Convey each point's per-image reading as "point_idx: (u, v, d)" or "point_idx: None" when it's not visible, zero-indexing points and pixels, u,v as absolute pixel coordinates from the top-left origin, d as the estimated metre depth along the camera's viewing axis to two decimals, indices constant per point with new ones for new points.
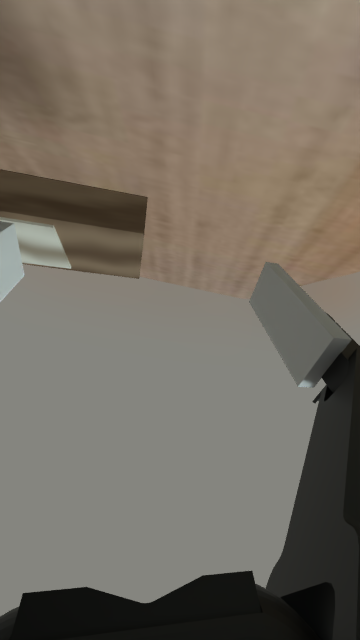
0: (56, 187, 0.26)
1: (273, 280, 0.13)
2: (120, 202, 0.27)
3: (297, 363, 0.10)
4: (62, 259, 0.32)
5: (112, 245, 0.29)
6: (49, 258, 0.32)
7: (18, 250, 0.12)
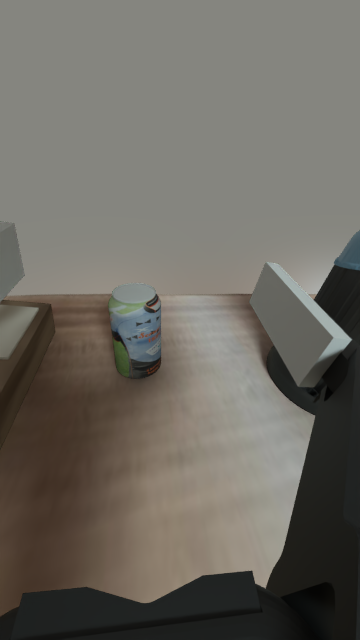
0: (26, 383, 0.28)
1: (273, 280, 0.13)
2: None
3: (297, 363, 0.10)
4: None
5: None
6: None
7: (18, 250, 0.12)
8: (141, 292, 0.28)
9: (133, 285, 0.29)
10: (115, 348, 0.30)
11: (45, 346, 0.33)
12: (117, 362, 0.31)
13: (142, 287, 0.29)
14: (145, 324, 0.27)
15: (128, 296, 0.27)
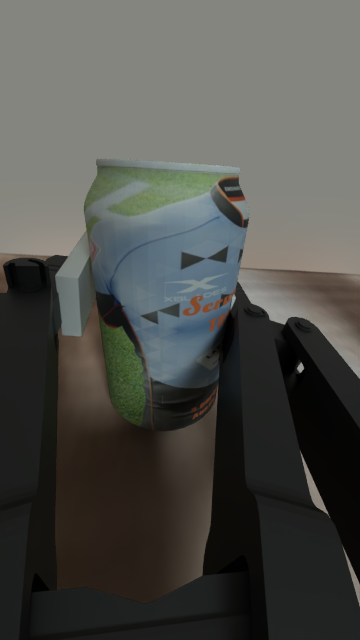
0: None
1: None
2: None
3: None
4: None
5: None
6: None
7: None
8: None
9: None
10: (107, 348, 0.11)
11: None
12: (112, 386, 0.12)
13: None
14: (210, 265, 0.08)
15: None
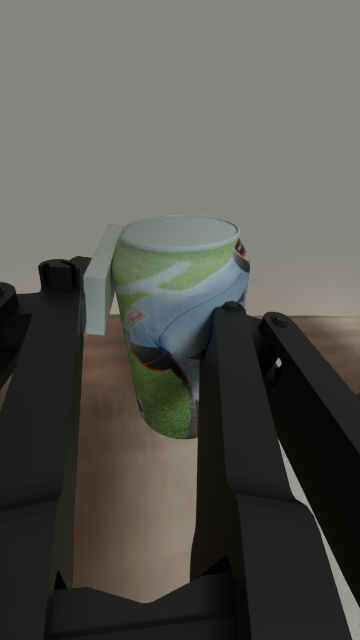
0: None
1: None
2: None
3: None
4: None
5: None
6: None
7: None
8: (197, 227, 0.10)
9: (159, 220, 0.12)
10: (148, 387, 0.12)
11: None
12: (154, 415, 0.13)
13: (184, 220, 0.12)
14: None
15: (177, 238, 0.09)
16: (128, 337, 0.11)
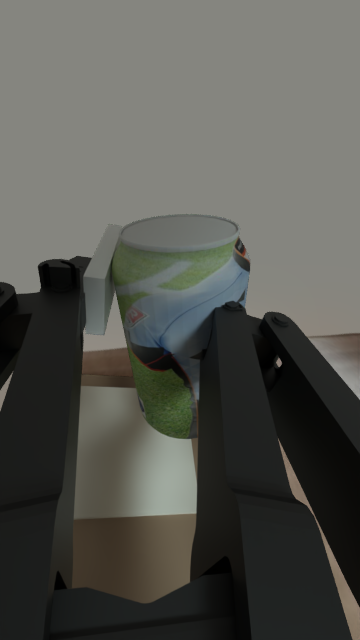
0: None
1: None
2: None
3: None
4: (89, 504, 0.14)
5: None
6: (91, 474, 0.16)
7: None
8: (197, 226, 0.10)
9: (158, 220, 0.12)
10: (150, 387, 0.12)
11: None
12: (155, 415, 0.13)
13: (183, 219, 0.11)
14: None
15: (177, 237, 0.09)
16: (129, 337, 0.11)
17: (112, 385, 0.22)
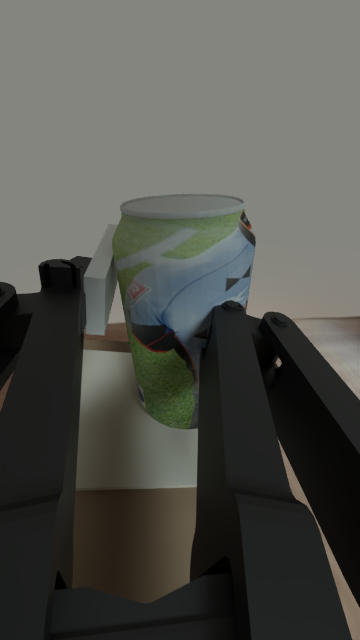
0: None
1: None
2: None
3: None
4: (84, 474, 0.12)
5: None
6: (87, 440, 0.13)
7: None
8: (201, 201, 0.10)
9: (160, 198, 0.11)
10: (150, 371, 0.11)
11: None
12: (155, 403, 0.13)
13: (186, 197, 0.11)
14: (242, 282, 0.10)
15: (180, 208, 0.09)
16: (129, 318, 0.11)
17: (112, 350, 0.19)
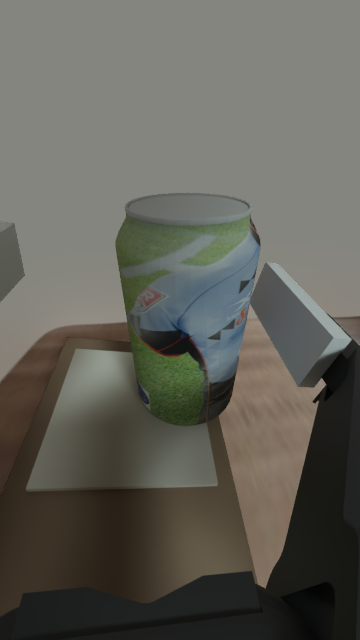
0: None
1: (273, 280, 0.13)
2: None
3: (297, 363, 0.10)
4: (84, 473, 0.12)
5: None
6: (87, 440, 0.13)
7: (18, 250, 0.12)
8: (205, 203, 0.10)
9: (158, 198, 0.11)
10: (160, 375, 0.11)
11: None
12: (163, 404, 0.13)
13: (185, 197, 0.11)
14: (251, 282, 0.10)
15: (192, 212, 0.09)
16: (138, 324, 0.10)
17: (112, 350, 0.19)
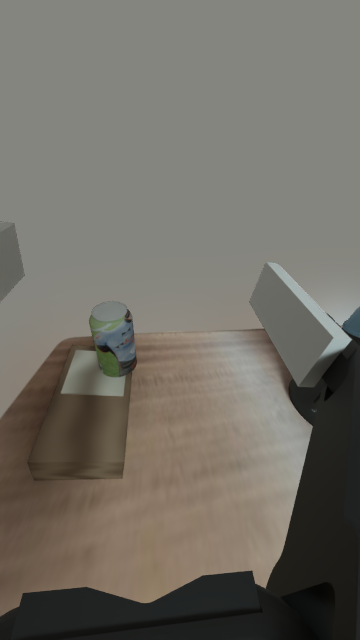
0: None
1: (273, 280, 0.13)
2: None
3: (297, 363, 0.10)
4: (78, 390, 0.37)
5: (103, 433, 0.33)
6: (79, 381, 0.38)
7: (18, 250, 0.12)
8: (115, 309, 0.35)
9: (103, 305, 0.36)
10: (103, 358, 0.37)
11: None
12: (106, 369, 0.38)
13: (111, 304, 0.36)
14: (127, 332, 0.35)
15: (108, 315, 0.34)
16: (95, 343, 0.36)
17: (91, 350, 0.44)
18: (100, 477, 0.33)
